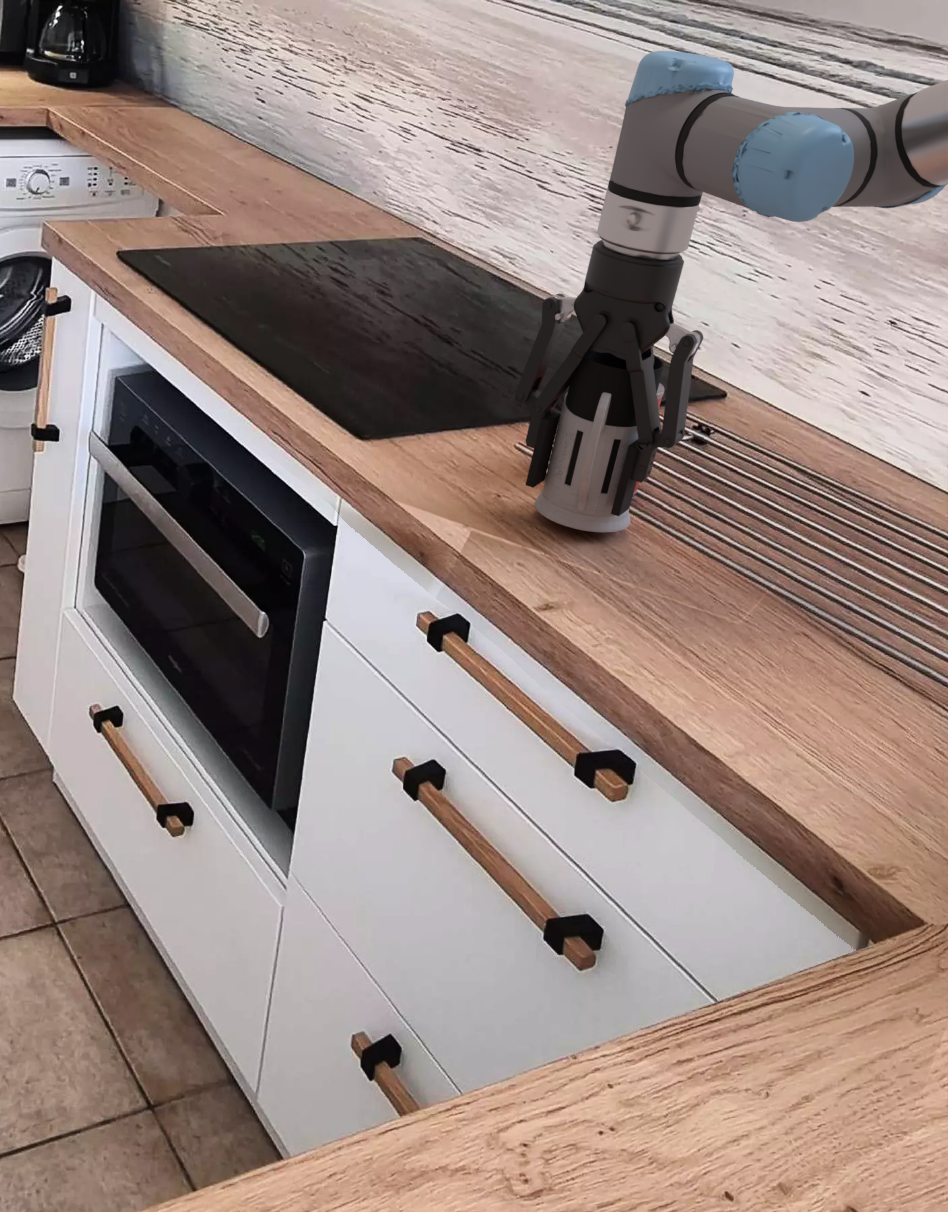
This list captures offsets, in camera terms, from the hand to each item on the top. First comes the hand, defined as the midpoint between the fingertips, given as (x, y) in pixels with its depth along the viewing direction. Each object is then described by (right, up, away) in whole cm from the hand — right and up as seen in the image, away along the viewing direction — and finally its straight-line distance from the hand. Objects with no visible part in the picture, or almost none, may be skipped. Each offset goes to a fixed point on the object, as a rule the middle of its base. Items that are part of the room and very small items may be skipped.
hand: (577, 496), depth 143 cm
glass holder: (0, -3, +1) cm, 3 cm away
